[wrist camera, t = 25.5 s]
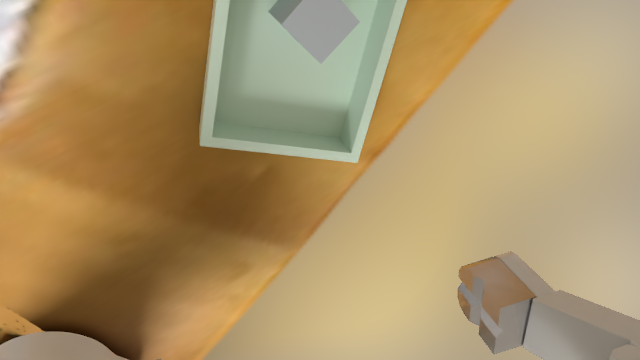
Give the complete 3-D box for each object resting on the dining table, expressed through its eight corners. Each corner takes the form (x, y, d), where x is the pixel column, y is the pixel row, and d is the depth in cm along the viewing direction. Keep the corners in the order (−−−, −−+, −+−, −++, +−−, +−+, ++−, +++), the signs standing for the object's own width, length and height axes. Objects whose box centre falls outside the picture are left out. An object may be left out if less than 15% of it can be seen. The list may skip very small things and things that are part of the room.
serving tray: (344, 144, 47) (357, 162, 43) (199, 127, 41) (199, 145, 37) (392, -27, 39) (414, -24, 35) (221, -76, 34) (225, -79, 30)
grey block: (302, 46, 39) (321, 63, 34) (268, 11, 37) (281, 24, 31) (334, 10, 39) (359, 22, 33) (301, -28, 36) (322, -23, 30)
